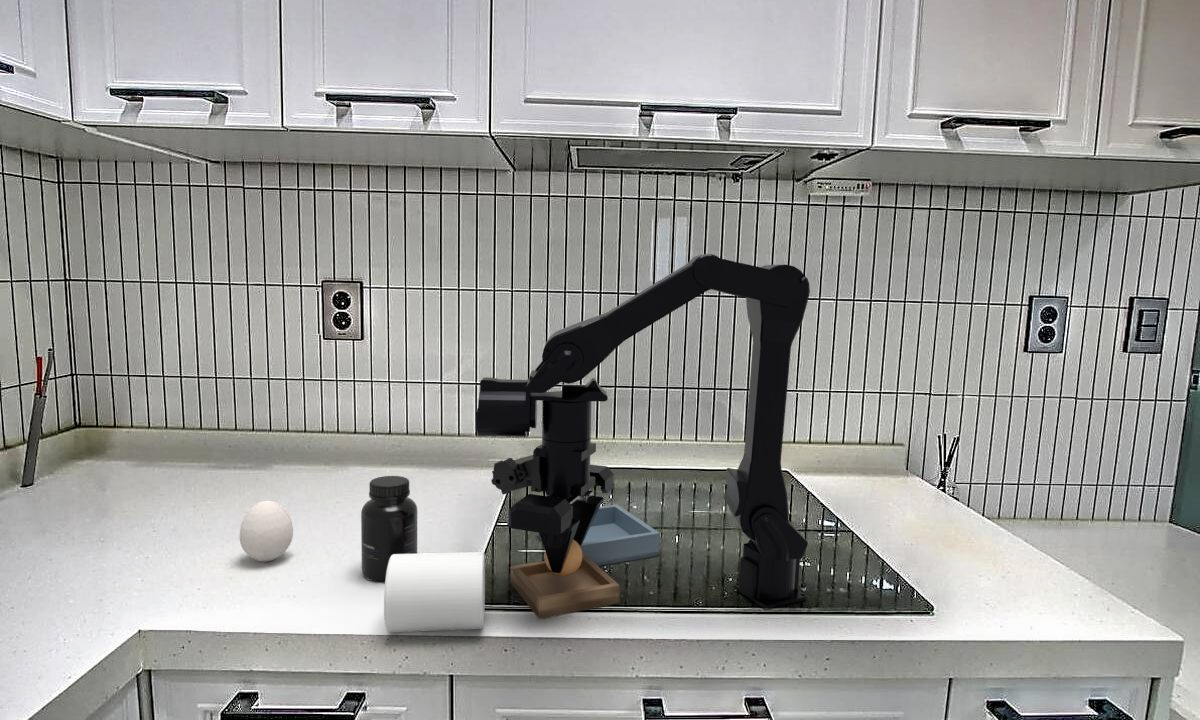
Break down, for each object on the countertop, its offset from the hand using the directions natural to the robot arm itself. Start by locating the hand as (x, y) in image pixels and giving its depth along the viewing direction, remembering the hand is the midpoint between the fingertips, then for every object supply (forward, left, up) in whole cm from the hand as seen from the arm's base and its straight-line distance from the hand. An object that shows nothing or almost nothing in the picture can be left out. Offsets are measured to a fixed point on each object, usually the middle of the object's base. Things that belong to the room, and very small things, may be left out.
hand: (564, 564), depth 86 cm
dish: (-10, -12, -4) cm, 16 cm away
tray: (0, 0, -4) cm, 4 cm away
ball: (0, 0, +1) cm, 1 cm away
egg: (+32, -24, -4) cm, 40 cm away
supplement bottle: (+18, -14, -4) cm, 23 cm away
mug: (+15, 0, -4) cm, 16 cm away
